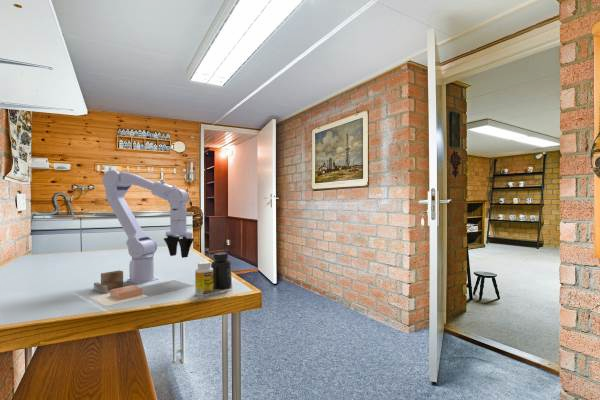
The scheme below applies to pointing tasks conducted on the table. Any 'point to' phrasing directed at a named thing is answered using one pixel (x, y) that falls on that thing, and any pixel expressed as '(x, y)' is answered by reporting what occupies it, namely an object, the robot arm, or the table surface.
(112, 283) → the pusher
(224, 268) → the supplement bottle
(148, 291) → the board
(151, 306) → the table surface
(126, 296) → the terracotta tile
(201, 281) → the supplement bottle
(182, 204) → the robot arm
